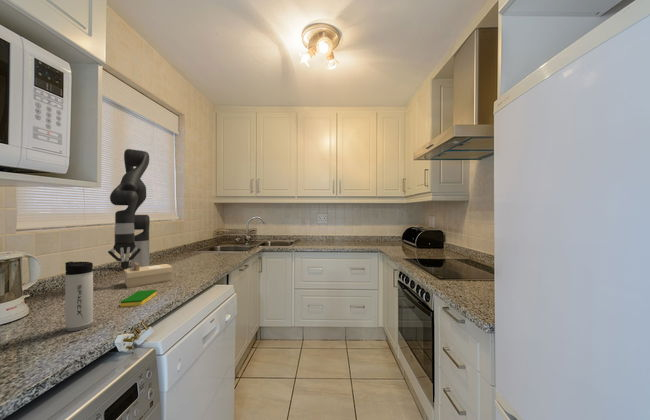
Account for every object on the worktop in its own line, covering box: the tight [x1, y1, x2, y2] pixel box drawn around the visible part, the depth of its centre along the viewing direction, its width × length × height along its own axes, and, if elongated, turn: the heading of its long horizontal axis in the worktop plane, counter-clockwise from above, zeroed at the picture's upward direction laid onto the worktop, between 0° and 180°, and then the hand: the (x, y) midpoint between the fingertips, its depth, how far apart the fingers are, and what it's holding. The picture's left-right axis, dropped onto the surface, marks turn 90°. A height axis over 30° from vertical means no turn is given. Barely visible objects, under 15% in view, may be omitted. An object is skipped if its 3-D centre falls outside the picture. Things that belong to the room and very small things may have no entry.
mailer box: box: [124, 272, 173, 289], centre depth 133 cm, size 10×18×6 cm, turn 133°
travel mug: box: [64, 261, 94, 332], centre depth 82 cm, size 6×7×20 cm
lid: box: [123, 262, 174, 278], centre depth 133 cm, size 12×19×5 cm, turn 133°
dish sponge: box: [120, 289, 158, 308], centre depth 106 cm, size 7×14×2 cm, turn 11°
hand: (124, 269), depth 126 cm, fingers closed
